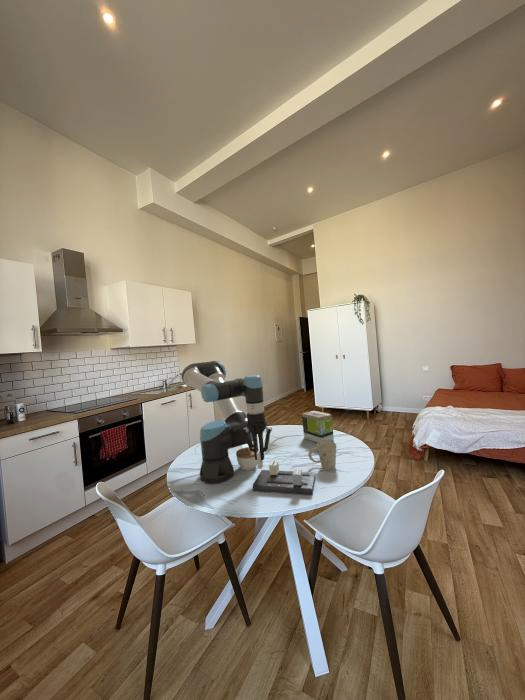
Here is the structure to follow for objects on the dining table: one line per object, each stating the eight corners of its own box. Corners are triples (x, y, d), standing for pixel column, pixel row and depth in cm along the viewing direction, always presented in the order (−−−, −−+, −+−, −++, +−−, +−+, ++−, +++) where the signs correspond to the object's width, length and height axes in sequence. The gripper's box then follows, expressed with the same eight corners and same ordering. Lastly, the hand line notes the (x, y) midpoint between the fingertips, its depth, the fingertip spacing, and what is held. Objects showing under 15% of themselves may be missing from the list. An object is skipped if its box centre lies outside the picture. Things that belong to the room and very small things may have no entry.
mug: (338, 471, 120) (336, 447, 119) (309, 470, 122) (307, 448, 122) (337, 462, 128) (335, 440, 128) (309, 462, 130) (307, 441, 130)
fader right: (293, 484, 106) (292, 474, 105) (295, 479, 109) (294, 469, 109) (301, 485, 105) (300, 474, 105) (302, 480, 109) (301, 469, 108)
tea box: (334, 440, 156) (332, 413, 156) (321, 444, 151) (319, 417, 151) (315, 433, 169) (314, 409, 169) (303, 438, 164) (301, 413, 163)
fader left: (269, 474, 115) (269, 464, 115) (272, 470, 119) (271, 460, 119) (276, 475, 114) (276, 465, 114) (279, 470, 118) (278, 460, 118)
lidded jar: (240, 475, 124) (238, 454, 124) (235, 465, 134) (233, 446, 134) (263, 469, 127) (261, 449, 127) (256, 461, 137) (255, 442, 137)
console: (253, 491, 109) (252, 484, 109) (262, 475, 122) (261, 469, 121) (312, 495, 103) (311, 488, 103) (315, 478, 115) (315, 471, 115)
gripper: (237, 414, 116) (243, 470, 117) (268, 414, 112) (273, 472, 113) (244, 410, 123) (248, 463, 124) (272, 409, 120) (277, 464, 120)
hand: (260, 467), depth 118 cm, fingers closed
